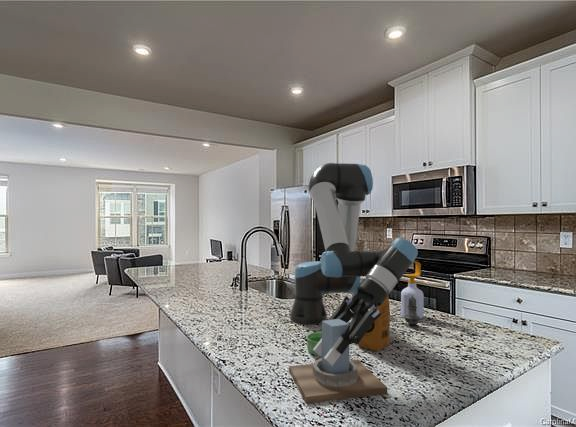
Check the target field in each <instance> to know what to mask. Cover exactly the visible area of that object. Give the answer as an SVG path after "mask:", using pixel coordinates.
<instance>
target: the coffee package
mask: <svg viewBox="0 0 576 427" xmlns="http://www.w3.org/2000/svg"><path fill="white" fill-rule="evenodd" d="M376 308H377V310H378V311H379V312H380V313H381V316H380V317H378V318H377V319H376V320H375V321H374V323H373V324H372V325H371V327H370V328H369V330H368V331H367V332H366V334H365V335H364V337H363V338H362V339H361V341H360V342H359V343H358V344H357V345H356V346H358V347H360V348H364V349H367V350H371V351H376V352H380V351H382V349H383V348H384V347H388V346H389V344H390V341H391V336H390V332H391V330H390V326H391V323H390V322H391V309H390V298H389V294H387V298H386V299H385V300H384V302H383V303H382V305H381V306H377V307H376ZM356 338H357V337H356Z"/></svg>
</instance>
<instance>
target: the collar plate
mask: <svg viewBox="0 0 576 427" xmlns="http://www.w3.org/2000/svg"><path fill="white" fill-rule="evenodd" d="M288 367H289V369H288V373H289V375H290V376H291V378H292V381H293V382H294V384H295V386H296V388H297V389H298V392H299V393H300V395H301V397H302V398H303V401H304V403H305V405H306V404H308V405H309V404H315V403H323V402H331V401H332V402H333V401H339V400H348V399H355V398H356V399H357V398H365V397H373V396H381V395H388V386H387V385H386V384H385V383H384V382H382V381H381V380H380V379H379V378H378V377H377V376H376V375H375V374H374V373H373V372H372V371H371V370H370V369H369V368H368V367H367V366H365V364H363V363H362V362H361V361H360V360H359V359H351V360H350V359H349V373H346V374H338V375H337V374H330V373H327V372H326V371H325V370H324V369H322V357H321V358H318V359H316V360H314V362H313V363H309V364H298V365H297V364H296V365H288Z"/></svg>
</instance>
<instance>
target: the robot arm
mask: <svg viewBox="0 0 576 427" xmlns="http://www.w3.org/2000/svg"><path fill="white" fill-rule="evenodd" d="M373 180H374V179H373V174H372V171H371V169H370V168H369V167H368V166H367V165H366V164H360V163H341V162H340V163H337V162H336V163H334V162H329V163H328V162H327V163H324V164H322V165H320V166H318V168H317V169H316V170H314V172H313V173H312V175H311V177H310V179H309V183H308V191H309V192H308V193H309V197H310V198H311V199H312V200H313V202H314V207H315V210H316V216H317V219H318V224H319V229H320V232H321V237H322V241H323V245H324V246H323V247H324V249H325V251H324V252H322V254H321V257H320V260H318V261H316V260H315V261H314V260H313V261H305V262H301V263H298V264H296V266H295V268H294V301H293V303H292V304H293V305H292V308H291V310H290V314H289V316H290V317H289V318H290V321H292V322H294V323H297V324H302V325H318V324H319V325H320V324H322V321H325V320H333V319H340V320H342V321H344V322H346V323H348V324H349V327H348V328H347V330H346V332H345V334H342V337H343V338H344V339H343V338H342V337H341V336H340V338H339V339H338V340H337V341H336V343H335V344H334V345H333V347H332V348H331V349H330V351H329V352H328V353H327V355H326V356H325V357H324V359H325V360H326V361H327V362H328V363H329V364H331V365H332V366H333V364H334V363H335V362H336V360H337V359H338V358H339V356H340V355H341V354H342V353H344V351H345V350H346V348H347V347H348V346H349V347H350V345H353V344H355V345H356V346H358V345H357V344H358V343H359V342H360V341H361V339H362V338H363V337H364V335H365V334H366V332H367V331H368V330H369V328H370V327H371V325H372V324H373V323H374V321H375V320H376V319H377V318H378V317H380V316H381V313H380V312H379V311H378V310H377V308H376V307H377V306H381V305H382V303H383V302H384V300H385V299H386V298H387V294H388V295H389V294H391V293H392V291H393V289H394V288H395V286H396V285H397V284H398V283H399V281H400V280H401V279H402V278H403V276H404V275H405V274H406V271H408V270H409V268H410V267H411V265H412V264H414V262H413V261H416V258H417V256H418V254H419V251H418V249H417V247H416V246H415V245H414V243H413V242H411V241H410V240H408V239H406V238H404V237H396V238H395V239H394V240H393V241H391V242H390V245H389V246H388V247H386V248H383V249H382V250H376V251H373V250H372V251H371V250H369V251H366V250H365V251H363V250H362V251H355V250H356V242H357V241H356V240H357V234H358V225H359V217H360V211H361V205H362V203H363V202H365V201H366V196H368V195H371V193H372V191H373V188H374V181H373ZM361 277H363V280H362V282H361V283H360V279H362V278H361ZM364 277H365V278H364ZM359 283H360V284H359ZM356 289H357V290H358V293H357V294H356V295H355V296H354V297H353V298H352V297H351V298H350V297H349V296H344V298H343V299H342V302H341V303H340V304H339V306H338V307H337V309H336V310H335V311H334V312H333V313H332V315H331V316H330V317H329V319H328V315H327V314H328V313H327V311H326V307H325V304H324V300H323V297H324V294H347V293H352V292H354V291H355V290H356ZM349 321H350V323H349ZM356 337H357V338H356ZM313 350H314V351H315V352H316V353H317V354H318V355H319V357H321V358H322V338H321V340H320V341H319V342H318V344H317V345H316V346H315V347H314V349H313Z"/></svg>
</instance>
